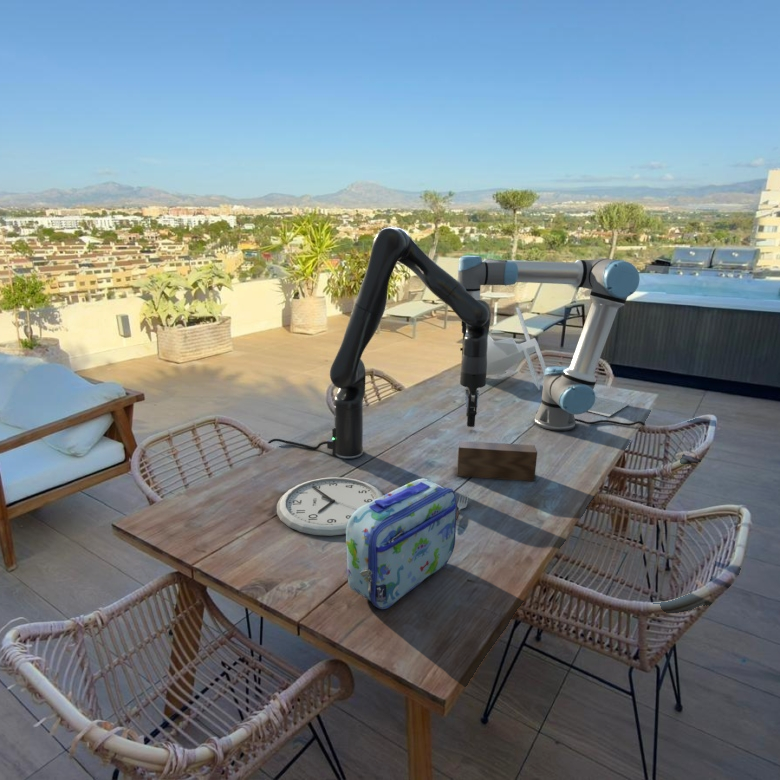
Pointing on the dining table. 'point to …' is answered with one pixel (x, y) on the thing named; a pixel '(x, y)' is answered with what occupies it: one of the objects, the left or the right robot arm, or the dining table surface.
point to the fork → (461, 506)
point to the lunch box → (400, 540)
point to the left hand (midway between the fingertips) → (470, 421)
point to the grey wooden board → (606, 407)
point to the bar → (496, 460)
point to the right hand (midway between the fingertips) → (465, 364)
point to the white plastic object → (512, 353)
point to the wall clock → (324, 504)
